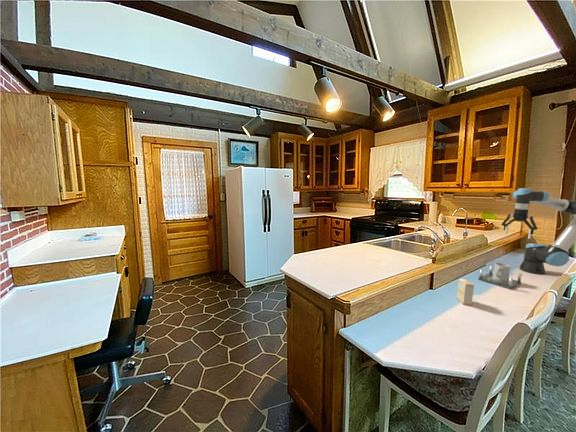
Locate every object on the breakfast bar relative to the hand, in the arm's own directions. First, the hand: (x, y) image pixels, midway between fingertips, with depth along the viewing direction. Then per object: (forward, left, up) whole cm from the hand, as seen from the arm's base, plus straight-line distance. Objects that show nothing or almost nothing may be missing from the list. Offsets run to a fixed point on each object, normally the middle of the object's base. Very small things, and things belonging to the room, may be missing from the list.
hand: (517, 236), depth 186 cm
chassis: (+22, 0, -32) cm, 39 cm away
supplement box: (+79, +2, -32) cm, 85 cm away
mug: (+22, 0, -30) cm, 37 cm away
